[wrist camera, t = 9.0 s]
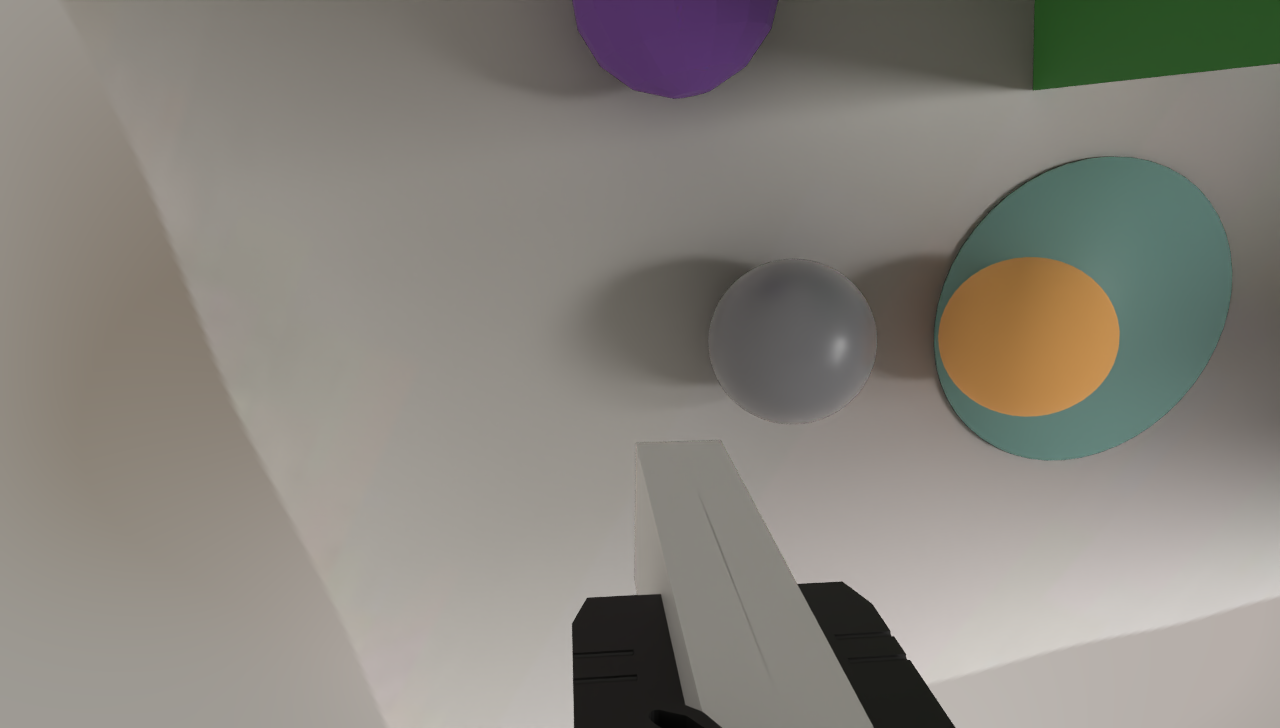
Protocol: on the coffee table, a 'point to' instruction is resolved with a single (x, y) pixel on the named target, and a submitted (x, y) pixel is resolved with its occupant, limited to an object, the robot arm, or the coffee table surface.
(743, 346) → the gray ball
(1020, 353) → the orange ball
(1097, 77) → the hardback book
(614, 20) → the kendama
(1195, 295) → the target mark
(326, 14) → the coffee table surface
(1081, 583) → the coffee table surface
